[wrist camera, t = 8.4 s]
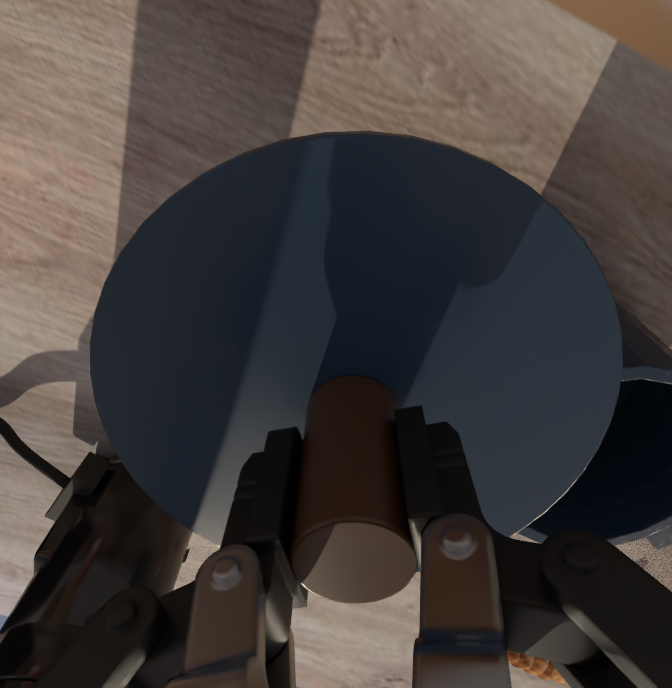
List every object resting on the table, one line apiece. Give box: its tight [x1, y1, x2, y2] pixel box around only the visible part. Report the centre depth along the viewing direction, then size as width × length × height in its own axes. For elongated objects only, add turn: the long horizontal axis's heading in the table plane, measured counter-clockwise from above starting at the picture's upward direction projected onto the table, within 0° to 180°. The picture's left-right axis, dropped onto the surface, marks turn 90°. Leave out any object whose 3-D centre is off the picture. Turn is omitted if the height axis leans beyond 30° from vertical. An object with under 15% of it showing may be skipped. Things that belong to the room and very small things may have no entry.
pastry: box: [507, 650, 566, 683], centre depth 51 cm, size 9×7×4 cm
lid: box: [90, 131, 623, 603], centre depth 13 cm, size 15×15×6 cm
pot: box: [517, 304, 672, 550], centre depth 33 cm, size 14×19×10 cm
